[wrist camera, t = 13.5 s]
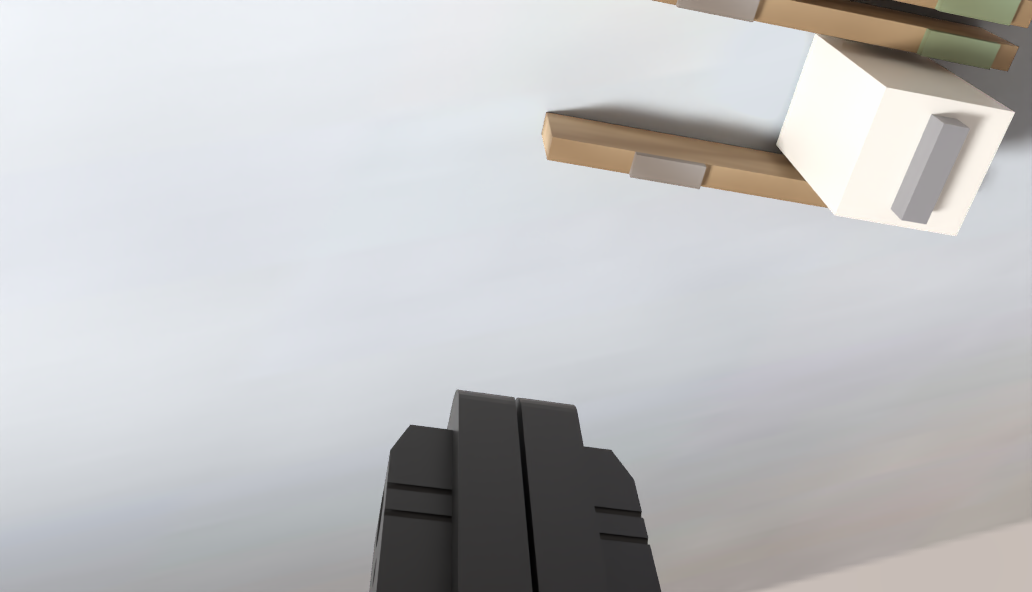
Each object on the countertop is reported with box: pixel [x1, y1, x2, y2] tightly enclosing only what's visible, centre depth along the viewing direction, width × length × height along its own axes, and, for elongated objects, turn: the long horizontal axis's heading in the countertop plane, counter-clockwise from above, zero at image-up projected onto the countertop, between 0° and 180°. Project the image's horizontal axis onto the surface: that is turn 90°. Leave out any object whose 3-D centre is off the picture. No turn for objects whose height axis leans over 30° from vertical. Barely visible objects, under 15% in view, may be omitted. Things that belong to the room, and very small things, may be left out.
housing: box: [542, 0, 1019, 208], centre depth 31 cm, size 6×14×3 cm, turn 79°
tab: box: [776, 34, 1015, 236], centre depth 30 cm, size 4×4×7 cm
